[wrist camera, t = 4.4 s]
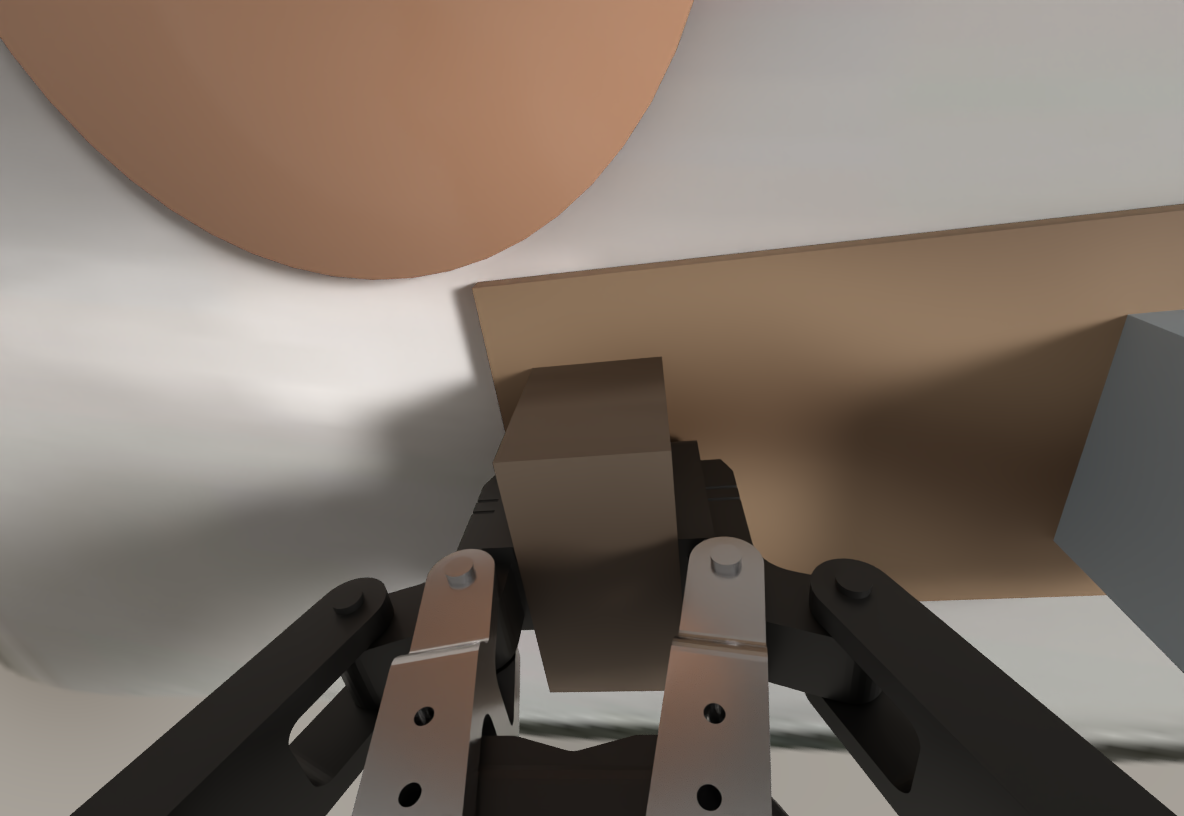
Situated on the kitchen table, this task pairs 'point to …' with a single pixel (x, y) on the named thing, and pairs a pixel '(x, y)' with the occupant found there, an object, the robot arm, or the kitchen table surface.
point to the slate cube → (1136, 483)
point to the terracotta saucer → (353, 114)
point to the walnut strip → (810, 415)
